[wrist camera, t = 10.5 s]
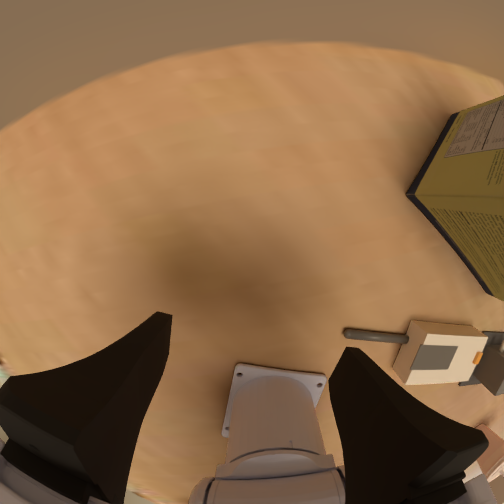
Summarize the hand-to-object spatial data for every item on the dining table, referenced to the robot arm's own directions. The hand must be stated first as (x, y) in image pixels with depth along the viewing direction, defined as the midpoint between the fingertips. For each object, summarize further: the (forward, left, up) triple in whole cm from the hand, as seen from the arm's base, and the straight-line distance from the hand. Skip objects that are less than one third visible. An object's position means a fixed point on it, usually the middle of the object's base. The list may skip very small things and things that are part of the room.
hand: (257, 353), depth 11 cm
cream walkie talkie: (-4, -15, -11) cm, 19 cm away
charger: (-5, -29, -10) cm, 31 cm away
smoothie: (-19, -39, -11) cm, 44 cm away
